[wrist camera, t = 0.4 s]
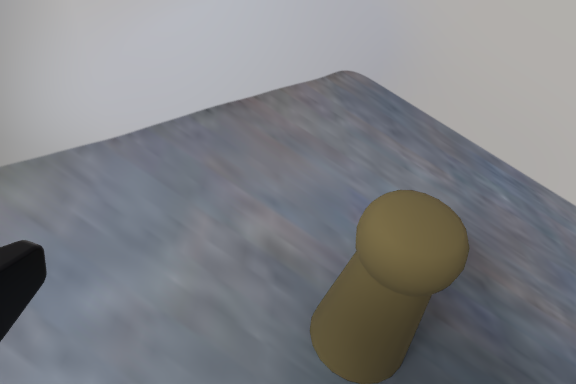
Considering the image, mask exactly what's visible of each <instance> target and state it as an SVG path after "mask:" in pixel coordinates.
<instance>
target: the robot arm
mask: <svg viewBox="0 0 576 384" xmlns="http://www.w3.org/2000/svg"><path fill="white" fill-rule="evenodd" d="M46 273H47V272H46V263H45V255H44V249H43V248H42V246H40V245H38V244H35V243H33V242H30V241H27V240H21V241H17V242H14V243H11V244H8V245H6V246H3V247H0V341H1V340H2V339H3V338H4V336H5V335H6V334H7V332H8V331H9V330H10V328H11V327H12V325H13V324H14V323H15V321H16V320H17V319H18V317H19V316H20V314H21V313H22V312H23V310H24V309H25V308H26V306H27V305H28V303H29V302H30V301H31V299H32V298H33V297H34V295H35V294H36V292H37V291H38V290H39V288H40V287H41V286H42V284H43V283H44V281H45V278H46Z"/></svg>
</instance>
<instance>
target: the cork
mask: <svg viewBox="0 0 576 384" xmlns="http://www.w3.org/2000/svg"><path fill="white" fill-rule="evenodd" d="M356 250H357V251H356V252H355V254H354V255H353V257H352V258H351V260H350V261H349V262H348V264H347V265H346V267H345V268H344V270H343V271H342V272H341V274H340V275H339V277H338V278H337V279H336V281H335V282H334V284H333V285H332V287H331V288H330V289H329V291H328V292H327V294H326V295H325V297H324V298H323V299H322V301H321V302H320V304H319V305H318V307H317V309H316V310H315V312H314V314H313V316H312V319H311V326H310V334H311V339H312V344H313V347H314V349H315V350H316V352H317V354H318V356H319V358H320V360H321V361H322V362H323V363H324V364H325V365H326V366H327V367H328V368H329V369H330V370H331V371H332V372H334V373H335V374H337V375H339V376H340V377H342V378H344V379H346V380H348V381H352V382H356V383H360V384H371V383H379V382H381V381H383V380H385V379H387V378H390V377H392V375H393V374H394V373H395V372H396V371H397V370H398V369H399V367H400V366H401V364H402V362H403V359H404V357H405V355H406V352H407V350H408V348H409V346H410V343H411V341H412V339H413V337H414V334H415V332H416V330H417V327H418V325H419V323H420V321H421V318H422V316H423V314H424V311H425V309H426V307H427V305H428V302H429V300H430V298H431V295H432V294H434V293H437V292H439V291H442V290H443V289H445V288H447V287H448V286H450V285H451V283H452V282H453V281H454V280H455V279H456V278H457V277H458V276H459V275H460V273H461V272H462V271H463V269H464V267H465V263H466V260H467V256H468V252H469V244H468V238H467V232H466V228H465V226H464V225H463V223H462V221H461V219H460V218H459V217H458V215H457V214H456V213H455V212H454V211H453V210H452V209H451V208H450V207H448V206H447V205H446V204H444V203H443V202H441V201H440V200H438V199H436V198H434V197H432V196H430V195H427V194H425V193H421V192H417V191H413V190H397V191H393V192H389V193H386V194H384V195H382V196H380V197H379V198H377V199H376V200H374V201H373V202H372V203H371V204H370V205H369V206H368V207H367V208H366V209H365V211H364V213H363V215H362V216H361V218H360V220H359V223H358V225H357V233H356Z"/></svg>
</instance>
